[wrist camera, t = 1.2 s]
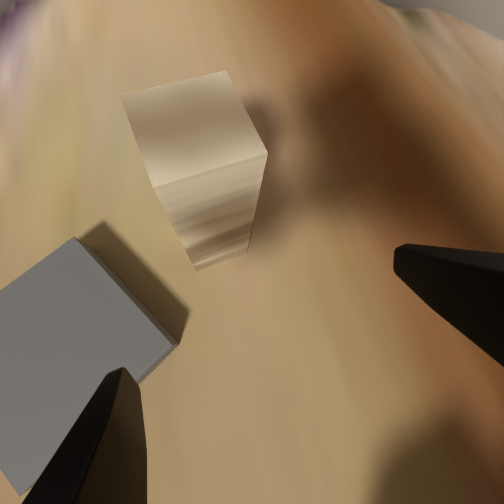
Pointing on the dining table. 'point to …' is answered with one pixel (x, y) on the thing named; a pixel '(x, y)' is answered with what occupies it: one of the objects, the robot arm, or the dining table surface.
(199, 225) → the maple post
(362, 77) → the dining table surface
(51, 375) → the plinth
